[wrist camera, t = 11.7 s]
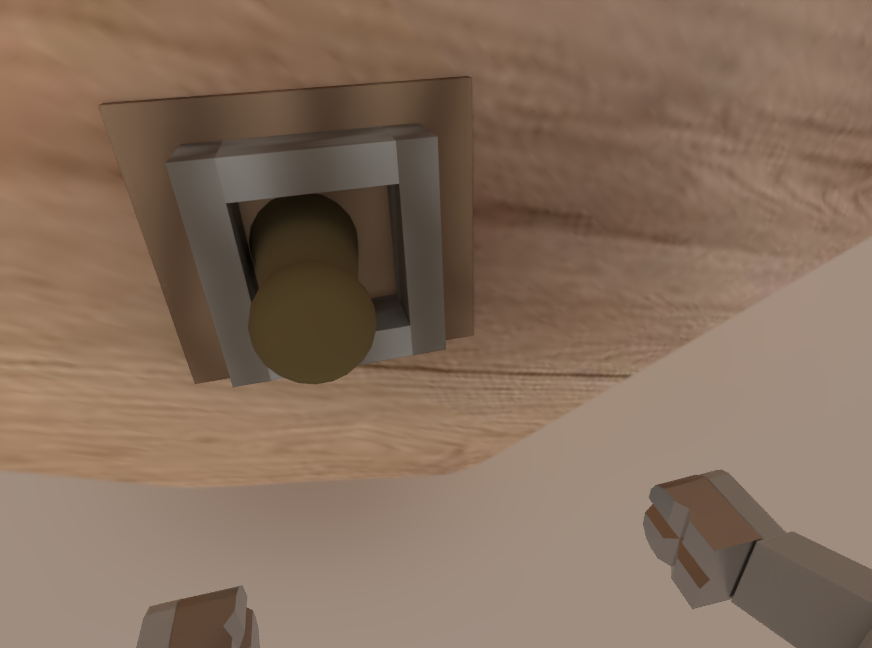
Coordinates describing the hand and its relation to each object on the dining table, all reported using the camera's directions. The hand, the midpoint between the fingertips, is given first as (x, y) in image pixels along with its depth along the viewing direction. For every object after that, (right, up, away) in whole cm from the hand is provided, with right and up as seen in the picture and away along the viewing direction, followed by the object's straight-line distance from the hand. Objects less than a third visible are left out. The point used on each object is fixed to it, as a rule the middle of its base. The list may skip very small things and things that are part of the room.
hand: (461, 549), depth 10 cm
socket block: (-7, +9, +20) cm, 23 cm away
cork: (-8, +9, +20) cm, 23 cm away
